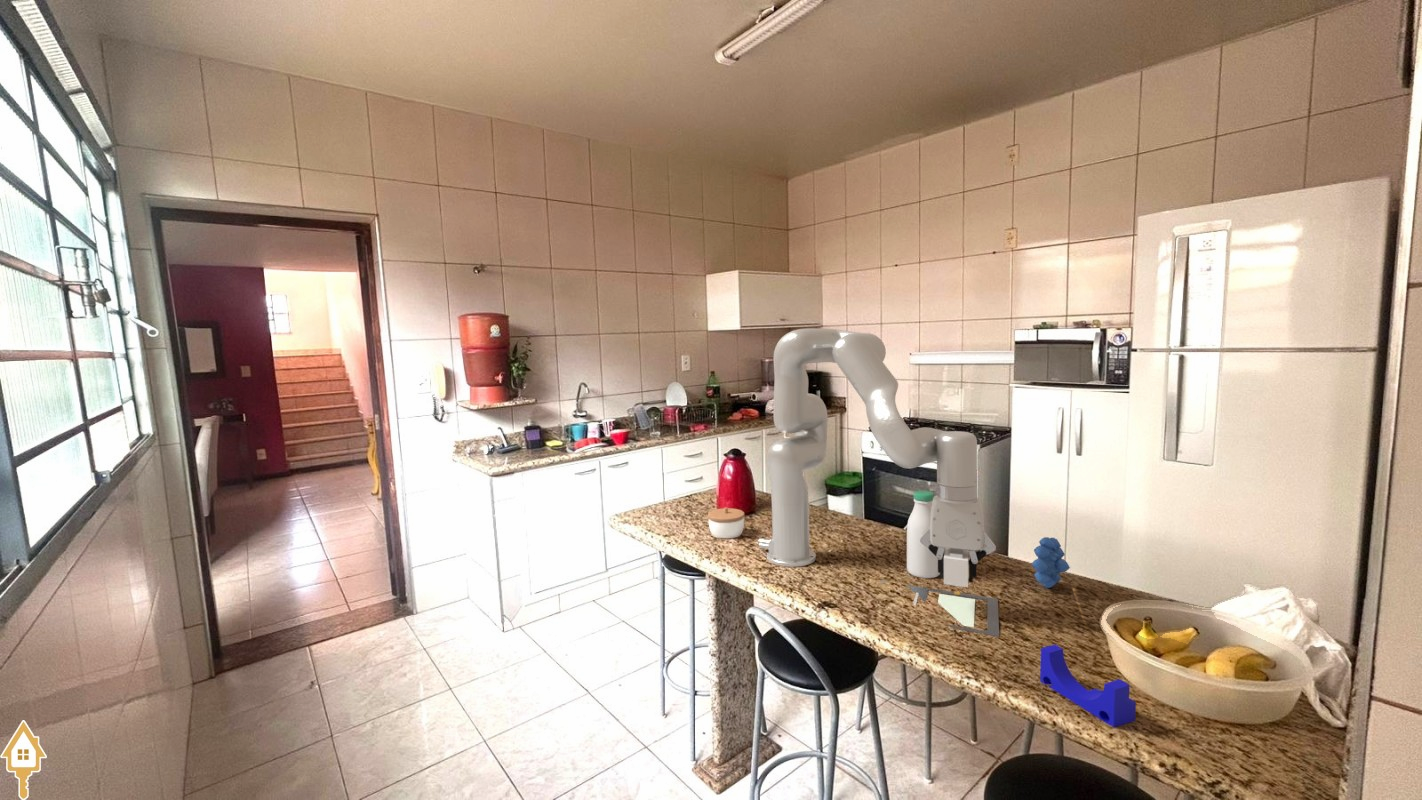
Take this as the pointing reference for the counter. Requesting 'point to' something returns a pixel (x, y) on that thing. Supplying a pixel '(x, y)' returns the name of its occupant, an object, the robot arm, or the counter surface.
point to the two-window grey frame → (991, 602)
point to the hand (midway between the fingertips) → (957, 577)
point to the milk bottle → (918, 555)
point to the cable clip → (1103, 705)
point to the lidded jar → (726, 522)
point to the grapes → (1049, 562)
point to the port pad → (959, 608)
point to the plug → (956, 567)
